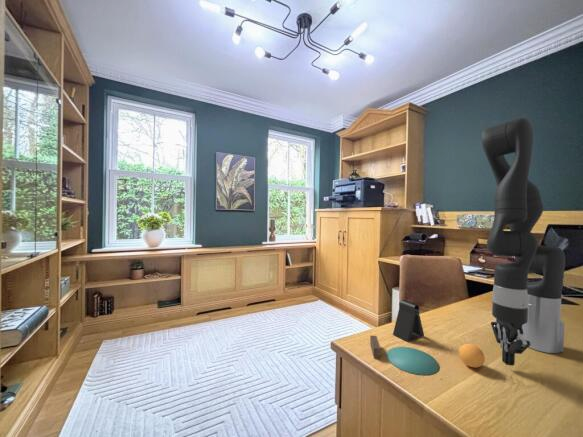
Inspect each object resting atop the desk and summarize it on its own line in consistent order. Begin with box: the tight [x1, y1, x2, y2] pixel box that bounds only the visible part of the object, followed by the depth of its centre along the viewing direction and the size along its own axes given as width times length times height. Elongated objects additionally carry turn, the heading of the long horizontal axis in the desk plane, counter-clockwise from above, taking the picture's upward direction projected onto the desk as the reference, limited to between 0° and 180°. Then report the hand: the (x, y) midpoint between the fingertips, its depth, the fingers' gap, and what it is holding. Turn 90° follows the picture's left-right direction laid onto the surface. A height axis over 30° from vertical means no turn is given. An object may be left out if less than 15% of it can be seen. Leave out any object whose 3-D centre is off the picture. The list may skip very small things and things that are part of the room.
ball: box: [458, 343, 485, 369], centre depth 72 cm, size 6×6×6 cm
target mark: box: [386, 346, 440, 376], centre depth 75 cm, size 14×14×1 cm
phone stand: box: [392, 299, 425, 343], centre depth 90 cm, size 9×6×12 cm, turn 118°
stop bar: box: [369, 335, 382, 359], centre depth 80 cm, size 2×8×3 cm, turn 170°
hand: (508, 363), depth 71 cm, fingers closed
